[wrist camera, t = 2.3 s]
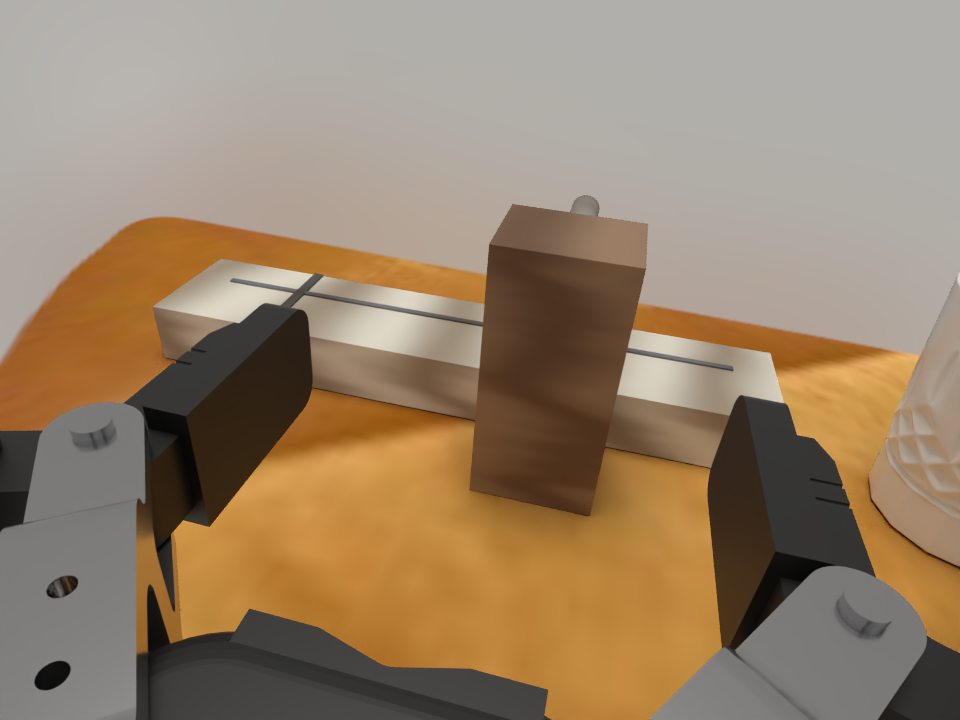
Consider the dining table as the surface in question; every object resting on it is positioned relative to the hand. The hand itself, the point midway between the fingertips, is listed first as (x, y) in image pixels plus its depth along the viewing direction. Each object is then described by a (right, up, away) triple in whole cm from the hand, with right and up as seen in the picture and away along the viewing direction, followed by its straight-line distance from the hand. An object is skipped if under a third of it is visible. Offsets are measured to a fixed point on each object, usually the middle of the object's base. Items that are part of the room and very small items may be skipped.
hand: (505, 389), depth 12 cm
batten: (-2, 0, +21) cm, 21 cm away
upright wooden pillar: (+3, -3, +18) cm, 18 cm away
